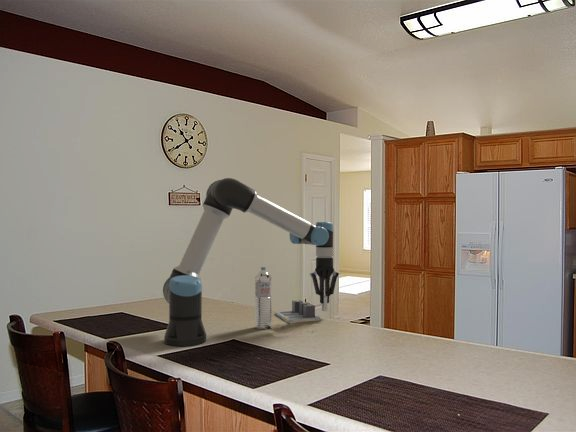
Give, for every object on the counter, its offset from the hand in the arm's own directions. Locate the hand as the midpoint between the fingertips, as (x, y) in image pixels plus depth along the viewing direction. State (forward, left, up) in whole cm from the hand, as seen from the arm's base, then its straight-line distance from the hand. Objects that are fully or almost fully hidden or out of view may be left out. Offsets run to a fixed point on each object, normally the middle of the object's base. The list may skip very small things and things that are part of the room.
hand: (324, 310), depth 218 cm
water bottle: (-4, +29, -5) cm, 29 cm away
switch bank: (+6, +11, -5) cm, 13 cm away
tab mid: (+6, +7, -3) cm, 10 cm away
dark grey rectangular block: (0, +7, -3) cm, 8 cm away
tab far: (+12, +8, -3) cm, 15 cm away
